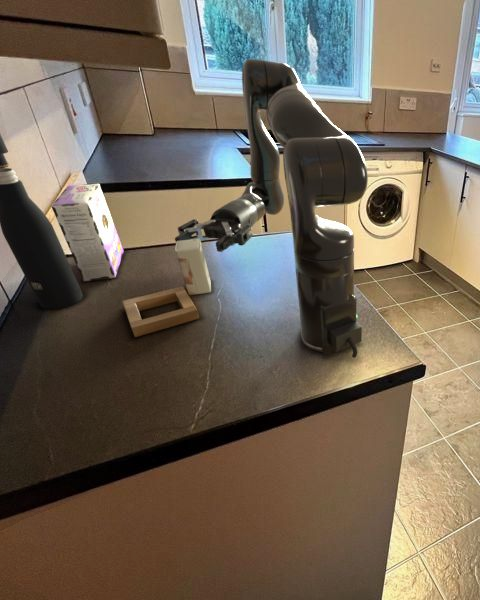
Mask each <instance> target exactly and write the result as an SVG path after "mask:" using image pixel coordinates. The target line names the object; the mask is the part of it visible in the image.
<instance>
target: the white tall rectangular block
mask: <svg viewBox="0 0 480 600" xmlns="http://www.w3.org/2000/svg"><path fill="white" fill-rule="evenodd" d="M175 254H176V257H177V261H178V264H179V268H180V271H181V275H182V277H183V281H184V285H185V288H186V292H187V294H188V296H193V295H195V296H196V295H201V294H207V293H211V292H212V282H211V277H210V274H209V273H210V272H209V269H208V265H207V261H206V257H205V252H204V249H203V245H202V241H201V240H200V239H190V240H180V241H177V242H176V241H175Z"/></svg>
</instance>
